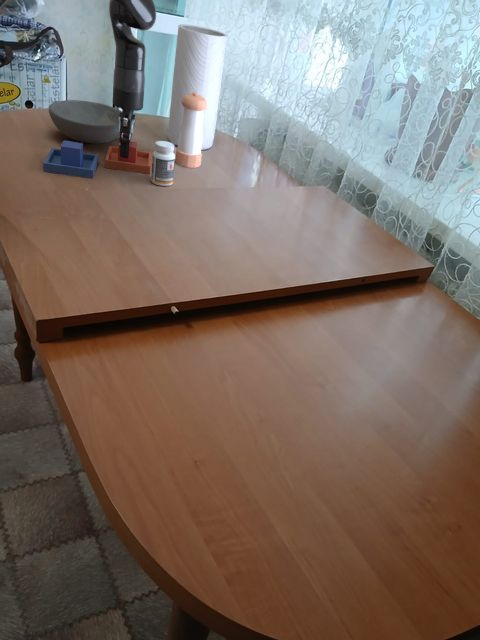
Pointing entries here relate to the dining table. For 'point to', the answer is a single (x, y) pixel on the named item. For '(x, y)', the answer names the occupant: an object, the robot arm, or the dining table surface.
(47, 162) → the blue tray
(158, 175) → the pill bottle
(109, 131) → the bowl
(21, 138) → the dining table surface
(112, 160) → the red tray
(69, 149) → the blue block
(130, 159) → the red block
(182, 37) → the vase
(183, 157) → the salt shaker
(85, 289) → the dining table surface
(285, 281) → the dining table surface
